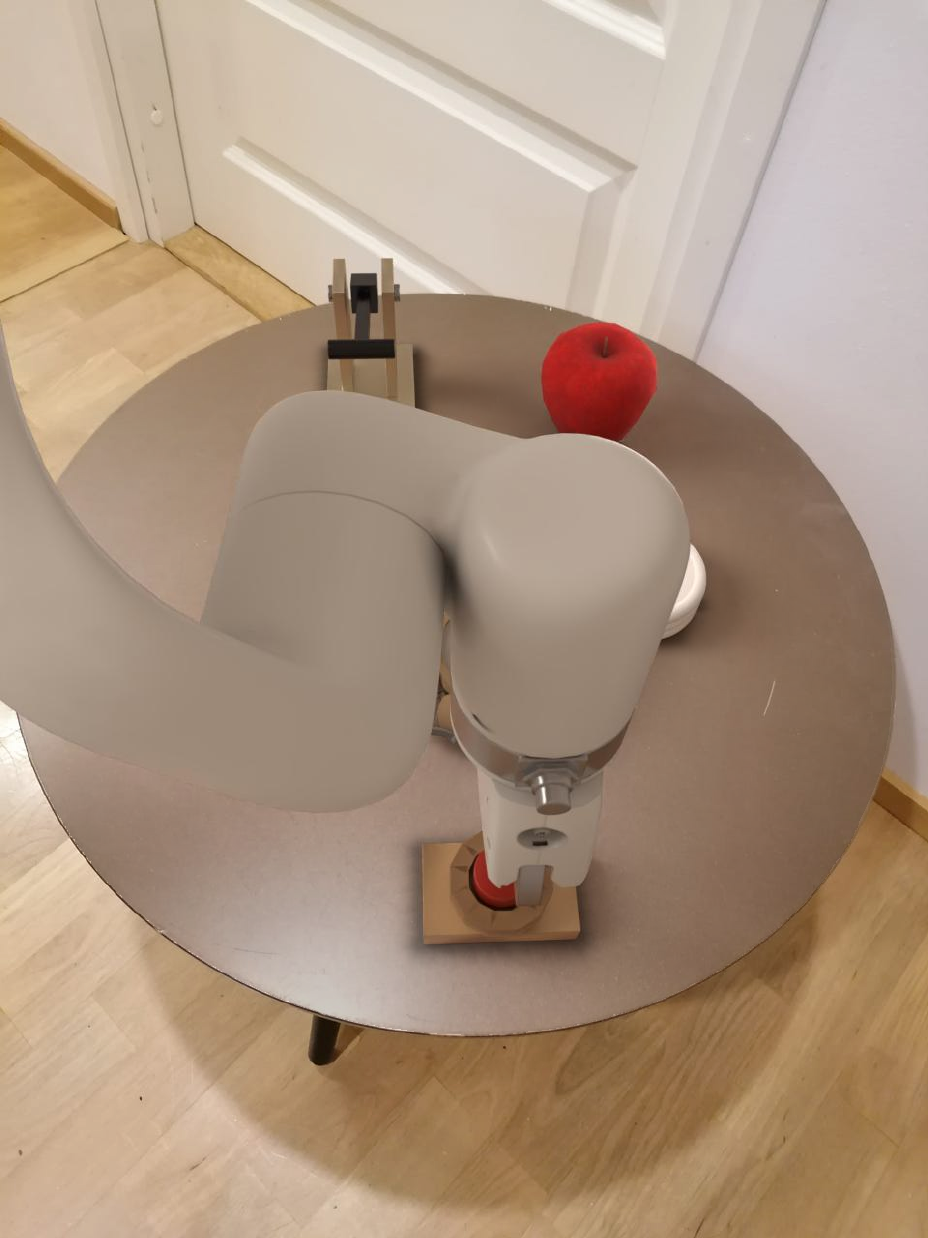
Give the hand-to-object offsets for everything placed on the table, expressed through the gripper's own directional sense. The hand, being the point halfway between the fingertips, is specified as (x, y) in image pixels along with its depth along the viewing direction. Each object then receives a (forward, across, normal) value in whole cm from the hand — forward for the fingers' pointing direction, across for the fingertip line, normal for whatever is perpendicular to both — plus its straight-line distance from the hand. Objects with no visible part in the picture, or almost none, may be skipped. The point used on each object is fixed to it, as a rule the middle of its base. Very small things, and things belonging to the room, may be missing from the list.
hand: (513, 843), depth 54 cm
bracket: (+10, +48, +10) cm, 50 cm away
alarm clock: (+11, +16, 0) cm, 20 cm away
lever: (-1, +43, +9) cm, 44 cm away
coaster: (+11, +24, -12) cm, 30 cm away
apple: (+11, +42, -10) cm, 45 cm away
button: (+7, 0, 0) cm, 7 cm away
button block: (+10, 0, 0) cm, 11 cm away
